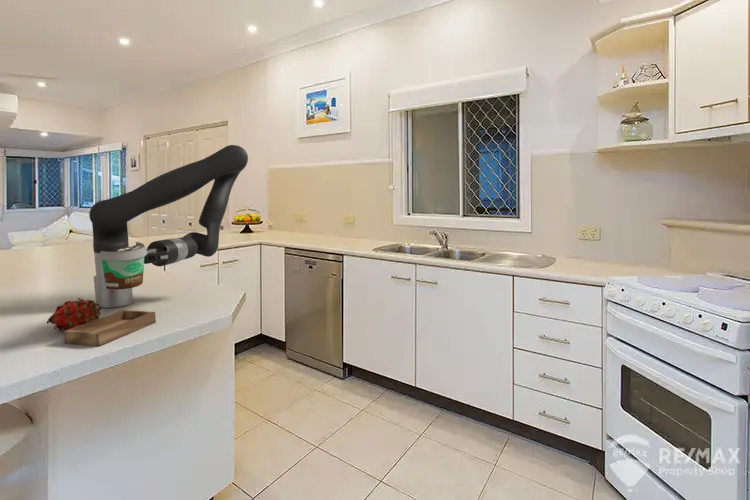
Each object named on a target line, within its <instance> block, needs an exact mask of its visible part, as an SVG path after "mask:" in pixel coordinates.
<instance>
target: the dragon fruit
mask: <svg viewBox="0 0 750 500" xmlns="http://www.w3.org/2000/svg"><path fill="white" fill-rule="evenodd" d="M76 299H77V300H75V301H74V300H73V301H71V300H66V301H65V302H64V304H62V305H58V306H57V307H56V309H55V311H54V312H52V314H51V316H50V317H48V319H47V321H46V324H49V323H50V324H52V325H54V326H53V330H58V332H59V331H60V332H61V331H65V330H68V329H71V328H74V327H76V326H79V325H82V324H85V323H88V322H91V321H94V320H97V319H99V318H100V317H99V316H101V309H102V307H100V306H99V304H97V303H96V302H95V300H94V299H86V300H84V299H82V298H80V297H79V298H76Z"/></svg>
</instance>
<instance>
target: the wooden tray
mask: <svg viewBox="0 0 750 500" xmlns="http://www.w3.org/2000/svg"><path fill="white" fill-rule="evenodd" d="M156 321H157V320H156V311H150V310H149V311H146V310H135V309H134V310H133V309H132V310H131V309H123V310H120V311H117V312H114V313H111V314H109V315H106V316H102V317H99V319H97V320H92V321H91V322H88V323H85V324H82V325H79V326H76V327H74V328H71V329H68V330H62V331H63V342H64V344H69V345H80V346H92V347H102V346H104V345H107V344H109V343H111V342H114V341H115V340H118V339H120V338H123V337H125V336H128V335H130V334H133V333H135V332H138V331H139V330H141V329H144V328H146V327H148V326H150V325H151V326H152V325H153V324H156V323H157V322H156Z"/></svg>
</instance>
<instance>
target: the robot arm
mask: <svg viewBox="0 0 750 500" xmlns="http://www.w3.org/2000/svg"><path fill="white" fill-rule="evenodd" d="M248 160H249V156H248V152H247V151H246V149H244V148H243V147H242V146H240V145H238V144H237V145H235V144H230V145H226V146H224V147H223V148H221V149H219V150H218V151H216V152H214V153H212V154H210V155H209V156H206V157H205V158H202V159H200V160H197V161H194V162H191V163H188V164H185V165H183V166H179V167H178V168H174V169H172V170H169V171H167V172H165V173H162V174H161V175H158V176H156V177H155V178H152V179H150V180H148V181H147V182H145V183H144V184H142V185H140V186H138V187H137V188H135V189H133V190H131V191H128V192H126V193H123V194H119V195H118V196H114V197H111V198H107V199H103V200H99V201H97V202H95V203H94V204H93V205H92V206H91V208H90V210H89V216H88V217H89V220H90V223H91V227H92V248H93V256H94V265H95V267H94V268H95V275H94V276H93V284H94V296H95V303H97V304H99V306H100V308H101V309H102V308H103V309H106V308H107V309H110V308H111V309H114V308H120V307H124V306H125V307H126V306H128V305H132V304H133V303H134V295H133V288H129V289H119V290H116V289H106V284H105V277H104V271H103V265H102V260H99V257H100V254H101V251H105V252H112V251H115V250H117V249H119V248H126V247H130V246H129V244H130V243H129V235H128V234H129V232H128V222H130V221H131V220H133V219H135V218H136V217H138V216H141V215H142V214H144V213H147V212H149V211H152V210H155V209H158V208H161V207H164V206H167V205H169V204H172V203H174V202H176V201H179V200H181V199H183V198H185V197H188V196H190V195H192V194H194V193H195V192H197V191H199V190H200V189H202V188H203V187H205V186H206V185H208V184H209V183H210V182H212V181H214V182H213V184H212V187H211V188H210V191H209V194H208V196H207V198H206V200H205V203H204V205H203V208H202V211H201V212H200V215H199V218H198V224H199V225H200V226H201V227H203V228H205V229H206V232H207V233H206V234H204V233H201V232H196V231H195V232H194V231H191V232H189V233H187V234H185V235H184V236H182V237H176V238H173V237H172V238H166V239H160V240H155V241H152V242H150V243H149V245H148V246H147V247H146V250H147V255H145V256H144V265H148V264H152V265H154V266H155V267H163V266H168V265H172V264H176V263H179V262H181V261H183V260H189V259H191V258H193V257H194V256H196V255H201V256H203V257H208V258H209V257H212V256H214V255H215V253H217V252H218V249H219V243H220V240H219V239H220V231H221V230H220V229H221V225H222V222H223V219H224V216H225V213H226V210H227V207H228V203H229V198H230V196H231V195H230V194H231V192H232V189H233V187H234V183H235V182H236V180H237V179H238V177H239V175H240V173H241V172H242V171H243V170H245V168H246V166H247V164H248V162H249V161H248Z"/></svg>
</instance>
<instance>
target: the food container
mask: <svg viewBox="0 0 750 500" xmlns="http://www.w3.org/2000/svg"><path fill="white" fill-rule="evenodd" d="M146 248H147V247H146V245H145V244H144V243H142V242H140V241H139V242H138V241H135V245H131V246H129V247H126V248H119V249H117V250H115V251H112V252H105V251H101V254H100V257H99V260H102V265H103V271H104V277H105V284H106V289H116V290H119V289H129V288H132V289H134V288H137V287H140V286H141V285H143V283H144V268H145V267H144V266H145V264H144V256H145V255H147V250H146Z"/></svg>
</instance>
